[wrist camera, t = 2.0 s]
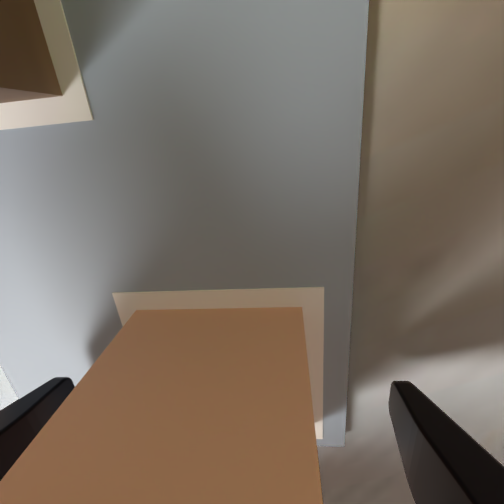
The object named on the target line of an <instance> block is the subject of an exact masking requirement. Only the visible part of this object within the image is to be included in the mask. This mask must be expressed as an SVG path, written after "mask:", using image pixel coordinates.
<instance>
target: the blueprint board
mask: <svg viewBox="0 0 504 504" xmlns="http://www.w3.org/2000/svg"><path fill="white" fill-rule="evenodd" d="M34 3H35V6H36V9H37V13H38V16H39V19H40V23H41V26H42V29H43V33H44V36H45V39H46V42H47V46H48V49H49V52H50V56H51V59H52V62H53V66H54V69H55V72H56V75H57V79H58V82H59V85H60V89H61V92H62V95H63V96H57V97H49V98H41V99H32V100H24V101H15V102H7V103H0V366H1V368H2V370H3V371H4V373H5V375H6V377H7V379H8V380H9V382H10V384H11V386H12V388H13V389H14V391H15V393H16V395H17V397H18V398H19V399H20V398H22V397H23V396H25V395H26V394H28V393H30V392H31V391H33V390H35V389H36V388H38V387H39V386H41V385H43V384H44V383H46V382H48V381H49V380H51V379H53V378H55V377H69V378H71V379H72V381H73V383H74V386H76V385H77V384H78V383H79V381H80V380H81V379H82V378H83V376H84V375H85V374H86V373H87V371H88V370H89V369H90V368H91V366H92V365H93V364H94V363H95V361H96V360H97V359H98V357H99V356H100V355H101V354H102V352H103V351H104V350H105V349H106V347H107V346H108V345H109V344H110V342H111V341H112V340H113V339H114V337H115V336H116V335H117V334H118V332H119V331H120V330H121V329H122V327H123V326H124V325H125V323H126V322H127V321H128V320H129V318H130V317H131V316H132V315H133V313H134V312H135V311H136V310H166V309H219V308H271V307H302V311H303V321H304V330H305V339H306V349H307V358H308V367H309V377H310V386H311V395H312V405H313V414H314V423H315V433H316V442H317V446H330V447H344V445H345V427H346V409H347V391H348V373H349V355H350V336H351V318H352V300H353V282H354V264H355V246H356V228H357V209H358V191H359V173H360V155H361V137H362V119H363V100H364V82H365V64H366V46H367V28H368V10H369V0H34Z"/></svg>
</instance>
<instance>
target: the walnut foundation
mask: <svg viewBox="0 0 504 504" xmlns="http://www.w3.org/2000/svg"><path fill="white" fill-rule="evenodd" d="M57 96H63V95H62V92H61V89H60V85H59V82H58V79H57V75H56V72H55V69H54V66H53V62H52V59H51V56H50V52H49V49H48V46H47V42H46V39H45V36H44V33H43V29H42V26H41V23H40V19H39V16H38V13H37V9H36V6H35V3H34V0H0V103H7V102H15V101H24V100H32V99H41V98H49V97H57Z"/></svg>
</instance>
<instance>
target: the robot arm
mask: <svg viewBox="0 0 504 504" xmlns="http://www.w3.org/2000/svg"><path fill="white" fill-rule="evenodd" d="M74 388H75V386H74V383H73V381H72V379H71V378H69V377H55V378H53V379H51V380H49V381H48V382H46V383H44V384H43V385H41V386H39V387H38V388H36V389H35V390H33V391H31V392H30V393H28V394H26V395H25V396H23V397H22V398H20V399H18V400H17V401H15V402H14V403H12V404H10V405H9V406H7V407H5V408H4V409H2V410H1V411H0V481H1V480H2V478H3V477H4V476H5V475H6V473H7V472H8V471H9V470H10V468H11V467H12V466H13V465H14V463H15V462H16V461H17V460H18V458H19V457H20V456H21V455H22V453H23V452H24V451H25V449H26V448H27V447H28V446H29V444H30V443H31V442H32V441H33V439H34V438H35V437H36V436H37V434H38V433H39V432H40V431H41V429H42V428H43V427H44V426H45V424H46V423H47V422H48V420H49V419H50V418H51V417H52V415H53V414H54V413H55V412H56V410H57V409H58V408H59V407H60V405H61V404H62V403H63V402H64V400H65V399H66V398H67V397H68V395H69V394H70V393H71V392H72V390H73V389H74ZM389 412H390V416H391V420H392V424H393V428H394V432H395V436H396V439H397V443H398V447H399V451H400V455H401V458H402V462H403V466H404V470H405V473H406V477H407V480H408V483H409V486H410V489H411V492H412V495H413V498H414V500H415V503H416V504H504V466H503V465H502V464H500V463H499V462H498V461H497V460H496V459H495V458H494V457H493V456H492V455H491V454H489V453H488V452H487V451H486V450H485V449H484V448H483V447H482V446H481V445H480V444H478V443H477V442H476V441H475V440H474V439H473V438H472V437H471V436H470V435H469V434H467V433H466V432H465V431H464V430H463V429H462V428H461V427H460V426H459V425H458V424H456V423H455V422H454V421H453V420H452V419H451V418H450V417H449V416H448V415H447V414H445V413H444V412H443V411H442V410H441V409H440V408H439V407H438V406H437V405H435V404H434V403H433V402H432V401H431V400H430V399H429V398H428V397H427V396H426V395H424V394H423V393H422V392H421V391H420V390H419V389H418V388H417V387H416V386H415V385H413V384H412V383H411V382H409V381H393V382H392V384H391V389H390V397H389Z"/></svg>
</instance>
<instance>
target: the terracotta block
mask: <svg viewBox="0 0 504 504" xmlns="http://www.w3.org/2000/svg"><path fill="white" fill-rule="evenodd" d="M0 504H323V498H322V489H321V479H320V470H319V461H318V451H317V442H316V433H315V423H314V414H313V405H312V395H311V386H310V377H309V367H308V358H307V349H306V339H305V330H304V321H303V311H302V307H271V308H219V309H166V310H136V311H135V312H134V313H133V315H132V316H131V317H130V318H129V320H128V321H127V322H126V323H125V325H124V326H123V327H122V329H121V330H120V331H119V332H118V334H117V335H116V336H115V337H114V339H113V340H112V341H111V342H110V344H109V345H108V346H107V347H106V349H105V350H104V351H103V352H102V354H101V355H100V356H99V357H98V359H97V360H96V361H95V363H94V364H93V365H92V366H91V368H90V369H89V370H88V371H87V373H86V374H85V375H84V376H83V378H82V379H81V380H80V381H79V383H78V384H77V385H76V386H75V388H74V389H73V390H72V392H71V393H70V394H69V395H68V397H67V398H66V399H65V400H64V402H63V403H62V404H61V405H60V407H59V408H58V409H57V410H56V412H55V413H54V414H53V415H52V417H51V418H50V419H49V420H48V422H47V423H46V424H45V426H44V427H43V428H42V429H41V431H40V432H39V433H38V434H37V436H36V437H35V438H34V439H33V441H32V442H31V443H30V444H29V446H28V447H27V448H26V449H25V451H24V452H23V453H22V455H21V456H20V457H19V458H18V460H17V461H16V462H15V463H14V465H13V466H12V467H11V468H10V470H9V471H8V472H7V473H6V475H5V476H4V477H3V478H2V480H1V481H0Z"/></svg>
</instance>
